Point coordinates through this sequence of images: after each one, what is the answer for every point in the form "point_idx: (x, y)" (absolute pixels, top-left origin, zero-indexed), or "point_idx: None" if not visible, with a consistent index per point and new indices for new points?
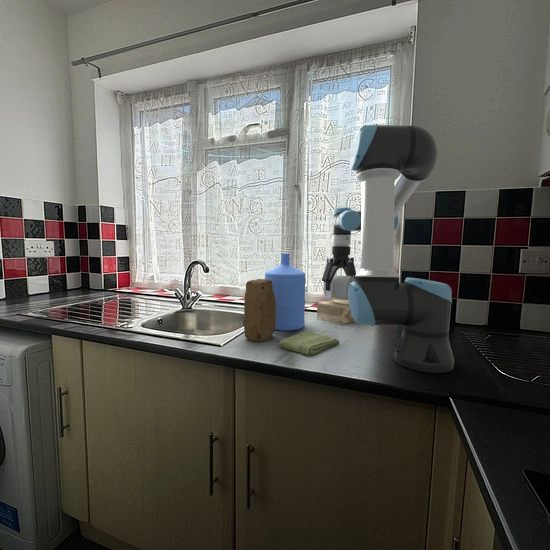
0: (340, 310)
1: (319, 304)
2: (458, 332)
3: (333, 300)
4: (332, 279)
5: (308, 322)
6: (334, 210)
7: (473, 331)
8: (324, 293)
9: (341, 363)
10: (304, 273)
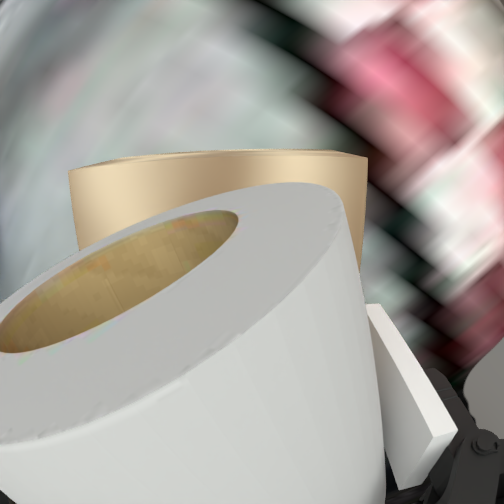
0: None
1: (77, 198)
2: (395, 493)
3: (288, 161)
4: (6, 496)
5: (32, 222)
6: None
7: (425, 490)
8: (45, 274)
9: None
10: None
